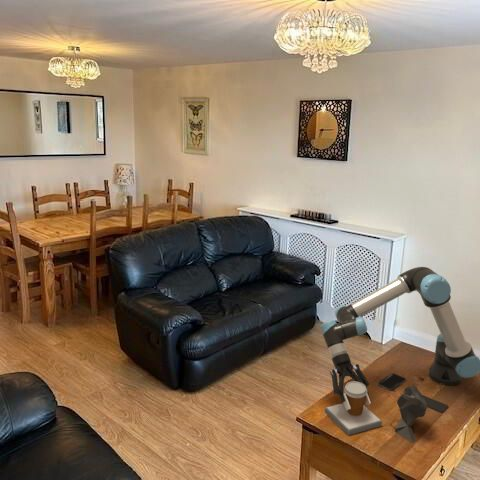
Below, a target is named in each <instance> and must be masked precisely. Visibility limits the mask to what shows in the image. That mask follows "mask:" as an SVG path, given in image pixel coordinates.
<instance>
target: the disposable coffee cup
mask: <svg viewBox="0 0 480 480" xmlns="http://www.w3.org/2000/svg"><path fill="white" fill-rule="evenodd" d="M344 385H345V386H344V387H343V392H344V393H345V394H346V397H347V399H348V402H349V405H350V408H351V409H349V410H348V413H349V414H351V415H353V416H359V415H361V414H362V413H363V407H364V406H365V396H366V394H367V390H368V388H367V389H366V386H365V385H364V384H362V383H360V382H356V381H354V380H353V381H349V382H347V383H346V384H344Z"/></svg>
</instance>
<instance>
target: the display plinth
mask: <svg viewBox="0 0 480 480" xmlns="http://www.w3.org/2000/svg"><path fill="white" fill-rule="evenodd" d="M324 413H325V414H326V415H327V416H328V417H329V418H330V419H331V420H332V421H333V423H335V424H336V425H337V426H338V427H339V428H340V429H341V430H342V432H343V433H345V434H346V435H347V436H352V435H355V434H359V433H362V432H365V431H369V430H372V429H376V428H380V427H382V424H383V421H382V419H380V418H379V417H378V416H377V415H376V414H375V413H373V411H371V410H370V409H369V408H368V407H367V406H365V405H364V407H363V413H362V414H361V415H359V416H353V415H351V414H349V413H348V410H346V408H345V406H344V403H343V402H341V403H338V404H334V405H329V406H326V407H325V408H324Z"/></svg>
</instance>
